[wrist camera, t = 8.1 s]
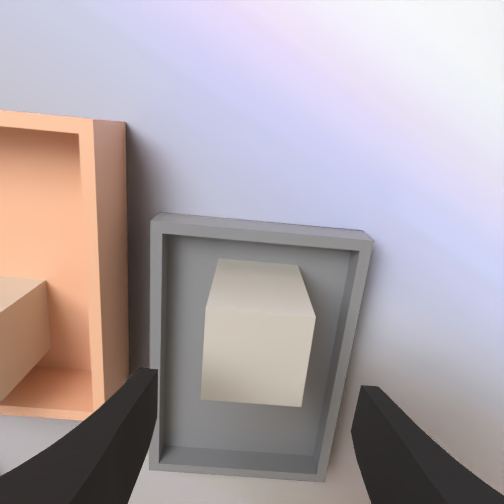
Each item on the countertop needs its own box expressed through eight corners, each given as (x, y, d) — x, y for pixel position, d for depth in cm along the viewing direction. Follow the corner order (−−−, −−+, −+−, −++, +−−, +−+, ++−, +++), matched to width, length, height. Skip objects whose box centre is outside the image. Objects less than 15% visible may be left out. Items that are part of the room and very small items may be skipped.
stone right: (288, 334, 22) (301, 407, 16) (213, 328, 22) (200, 399, 16) (297, 265, 20) (315, 317, 15) (218, 258, 20) (205, 308, 14)
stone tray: (318, 455, 25) (324, 482, 23) (156, 444, 25) (148, 470, 23) (362, 230, 20) (373, 240, 18) (159, 212, 20) (150, 220, 18)
